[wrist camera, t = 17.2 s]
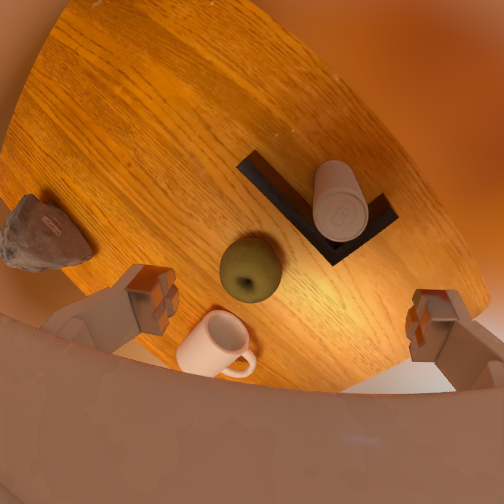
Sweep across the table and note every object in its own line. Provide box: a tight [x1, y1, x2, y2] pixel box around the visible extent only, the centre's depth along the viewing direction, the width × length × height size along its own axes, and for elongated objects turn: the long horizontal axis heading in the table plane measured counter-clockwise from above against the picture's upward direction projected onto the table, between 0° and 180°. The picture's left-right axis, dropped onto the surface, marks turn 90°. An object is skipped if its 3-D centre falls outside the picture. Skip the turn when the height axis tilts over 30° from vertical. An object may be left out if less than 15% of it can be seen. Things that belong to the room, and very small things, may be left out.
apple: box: [220, 237, 282, 303], centre depth 39 cm, size 8×8×7 cm
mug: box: [176, 310, 257, 378], centre depth 47 cm, size 12×10×8 cm
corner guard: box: [236, 150, 399, 266], centre depth 33 cm, size 10×16×5 cm, turn 46°
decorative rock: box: [0, 194, 93, 272], centre depth 40 cm, size 16×7×15 cm, turn 40°
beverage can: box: [313, 160, 368, 242], centre depth 30 cm, size 5×5×12 cm
